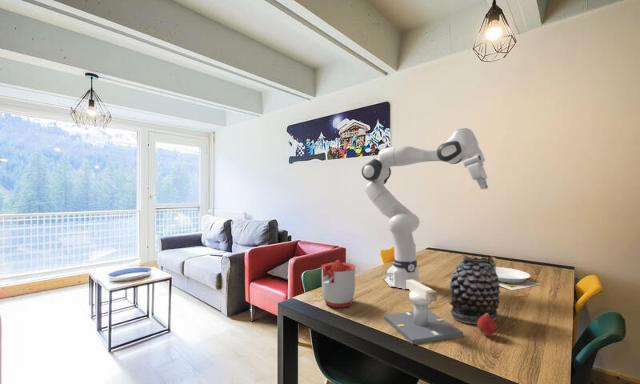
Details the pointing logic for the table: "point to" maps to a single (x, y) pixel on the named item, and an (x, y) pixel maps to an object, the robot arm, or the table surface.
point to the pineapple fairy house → (475, 289)
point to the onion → (486, 325)
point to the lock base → (422, 330)
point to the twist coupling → (420, 293)
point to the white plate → (511, 275)
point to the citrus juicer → (338, 283)
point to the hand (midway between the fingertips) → (484, 188)
